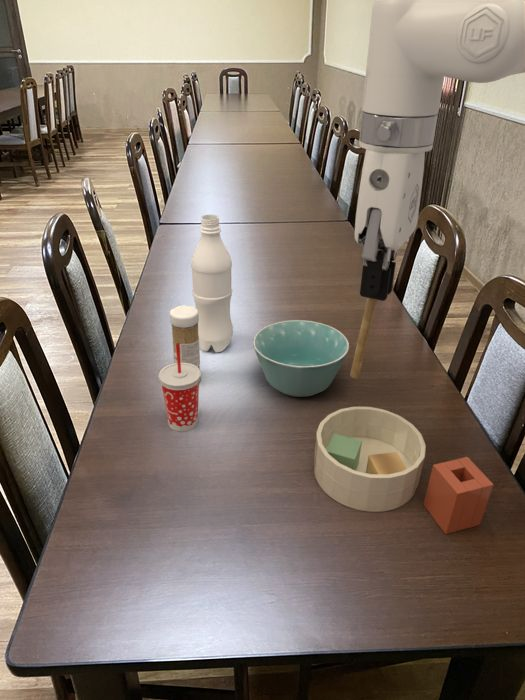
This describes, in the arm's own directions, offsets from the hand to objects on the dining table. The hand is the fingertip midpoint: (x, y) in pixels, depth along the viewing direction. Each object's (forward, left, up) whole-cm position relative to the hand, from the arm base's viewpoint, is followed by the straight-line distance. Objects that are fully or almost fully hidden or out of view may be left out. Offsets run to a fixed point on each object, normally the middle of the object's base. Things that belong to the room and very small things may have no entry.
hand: (375, 293), depth 65 cm
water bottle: (+12, -35, -26) cm, 45 cm away
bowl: (+1, -19, -26) cm, 32 cm away
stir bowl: (0, +4, -25) cm, 26 cm away
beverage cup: (+22, -14, -26) cm, 37 cm away
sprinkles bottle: (+19, -25, -26) cm, 40 cm away
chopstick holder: (-7, +14, -25) cm, 30 cm away
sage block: (+3, +3, -25) cm, 25 cm away
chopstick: (+1, -1, -12) cm, 12 cm away
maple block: (-1, +8, -25) cm, 26 cm away
